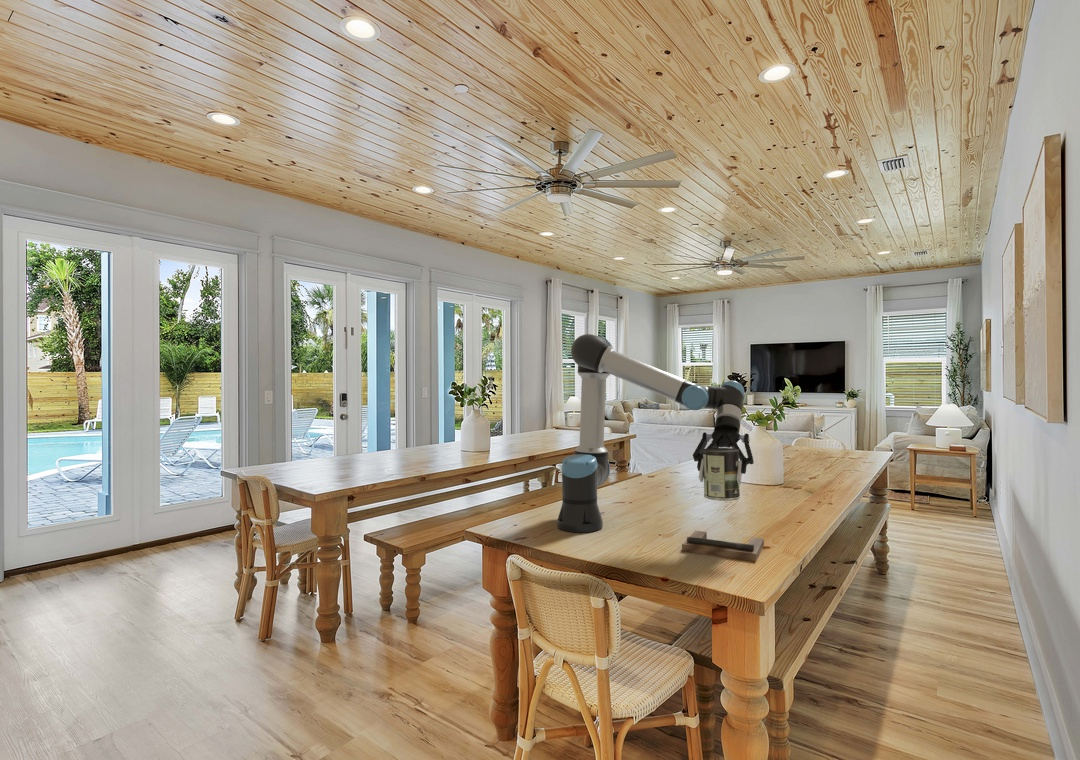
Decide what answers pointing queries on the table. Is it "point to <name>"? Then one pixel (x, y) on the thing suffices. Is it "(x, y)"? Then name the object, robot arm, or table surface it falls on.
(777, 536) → the table surface
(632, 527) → the table surface
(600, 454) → the robot arm
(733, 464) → the coffee can
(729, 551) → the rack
